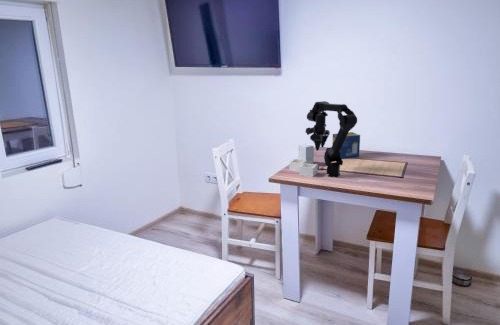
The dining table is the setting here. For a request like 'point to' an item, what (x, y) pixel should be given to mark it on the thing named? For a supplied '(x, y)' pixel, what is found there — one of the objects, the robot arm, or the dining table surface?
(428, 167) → the dining table surface
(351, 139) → the protein box
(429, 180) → the dining table surface
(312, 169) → the pot
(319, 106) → the robot arm
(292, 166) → the pot
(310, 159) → the small box
